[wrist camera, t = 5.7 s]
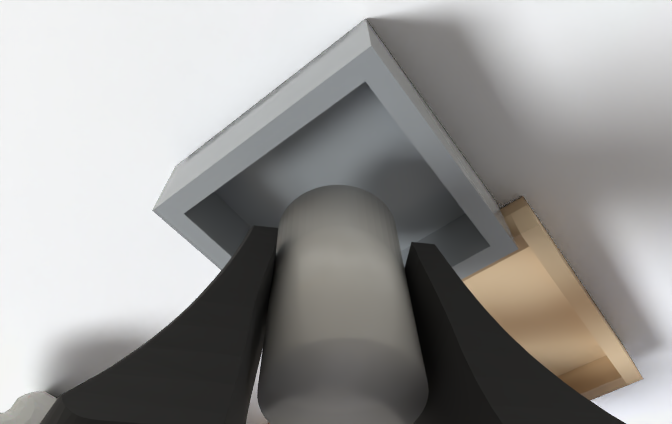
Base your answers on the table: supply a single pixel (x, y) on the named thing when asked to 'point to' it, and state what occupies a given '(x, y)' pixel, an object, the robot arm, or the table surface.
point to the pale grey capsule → (340, 317)
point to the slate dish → (338, 161)
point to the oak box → (551, 310)
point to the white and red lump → (28, 409)
